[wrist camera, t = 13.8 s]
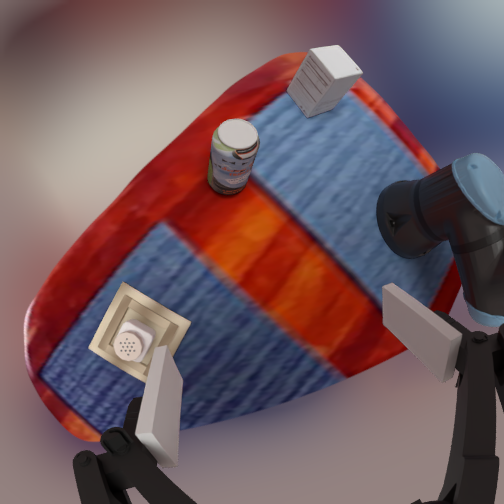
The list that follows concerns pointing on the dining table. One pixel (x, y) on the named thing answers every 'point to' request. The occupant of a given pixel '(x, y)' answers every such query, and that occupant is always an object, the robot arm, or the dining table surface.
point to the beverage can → (232, 156)
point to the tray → (147, 312)
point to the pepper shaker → (133, 340)
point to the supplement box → (323, 79)
